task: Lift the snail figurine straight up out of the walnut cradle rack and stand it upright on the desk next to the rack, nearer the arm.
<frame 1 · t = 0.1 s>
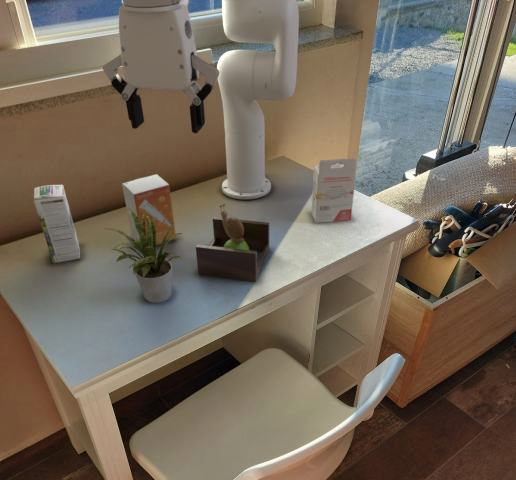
hand: (167, 127, 79), 31 cm above the table, tool pointing down, fingers open, 9 cm apart
ink cartridge box: (330, 217, 121), on the table
rack: (235, 261, 107), on the table
house plant: (152, 293, 100), on the table
syrup box: (67, 255, 110), on the table
small box: (154, 239, 115), on the table
snail figurine: (235, 262, 107), resting in rack
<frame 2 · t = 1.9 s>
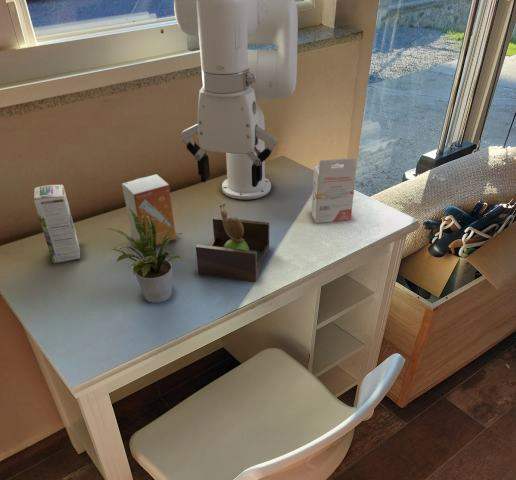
hand: (230, 181, 95), 18 cm above the table, tool pointing down, fingers open, 9 cm apart
nothing on the table moved.
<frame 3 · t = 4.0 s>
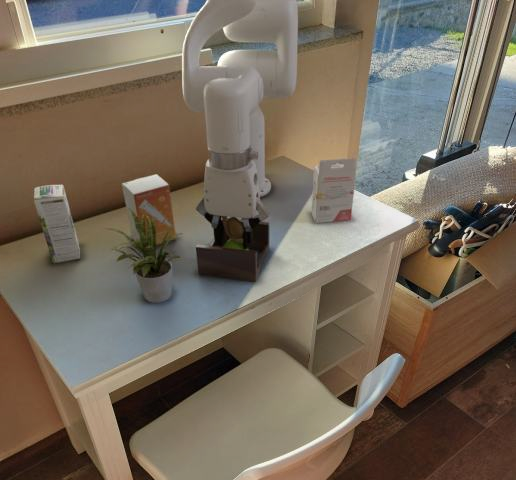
hand: (233, 243, 104), 4 cm above the table, tool pointing down, fingers closed on snail figurine, 4 cm apart
snail figurine: (234, 262, 107), resting in rack, touching gripper
everything else where it was.
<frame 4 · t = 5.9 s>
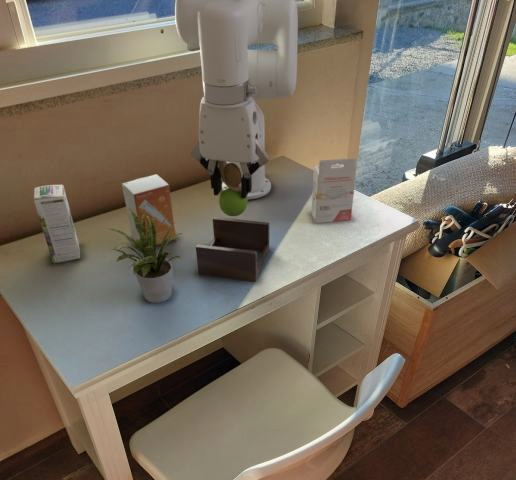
hand: (231, 192, 97), 15 cm above the table, tool pointing down, fingers closed on snail figurine, 4 cm apart
snail figurine: (232, 214, 101), point 11 cm above the table, touching gripper
everything else where it was.
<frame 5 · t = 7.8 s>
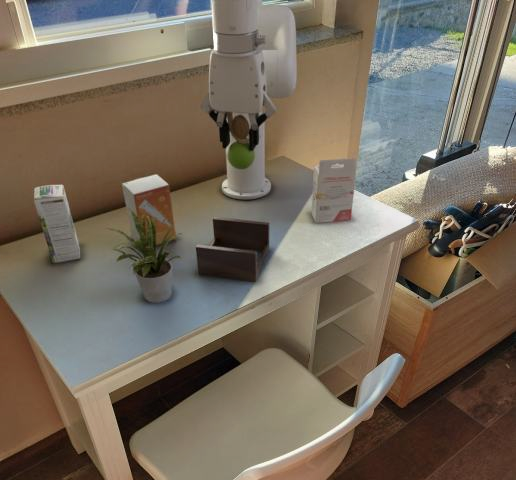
hand: (239, 145, 101), 20 cm above the table, tool pointing down, fingers closed on snail figurine, 4 cm apart
snail figurine: (239, 168, 104), point 16 cm above the table, touching gripper
everything else where it was.
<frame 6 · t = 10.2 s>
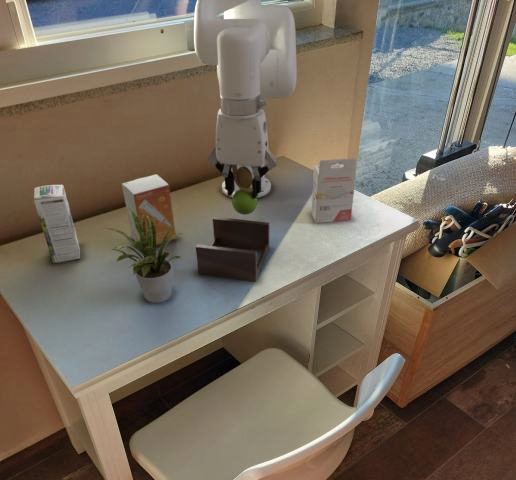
hand: (243, 193, 110), 9 cm above the table, tool pointing down, fingers closed on snail figurine, 4 cm apart
snail figurine: (243, 213, 113), point 5 cm above the table, touching gripper
everything else where it was.
when the fingers open (4 cm above the table, at t = 11.9 s): snail figurine stays where it is, on the table.
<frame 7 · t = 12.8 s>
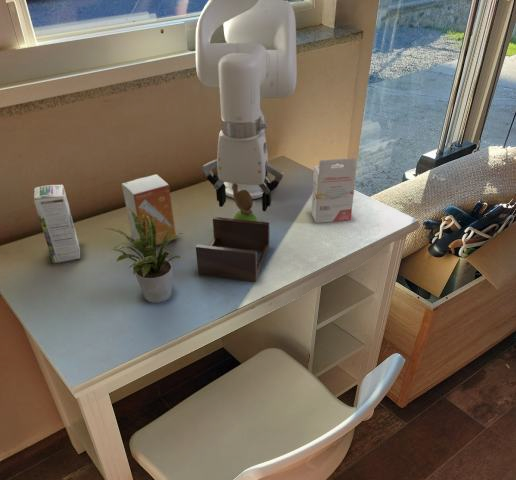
hand: (243, 206, 112), 6 cm above the table, tool pointing down, fingers open, 9 cm apart
snail figurine: (244, 233, 116), on the table
everything else where it was.
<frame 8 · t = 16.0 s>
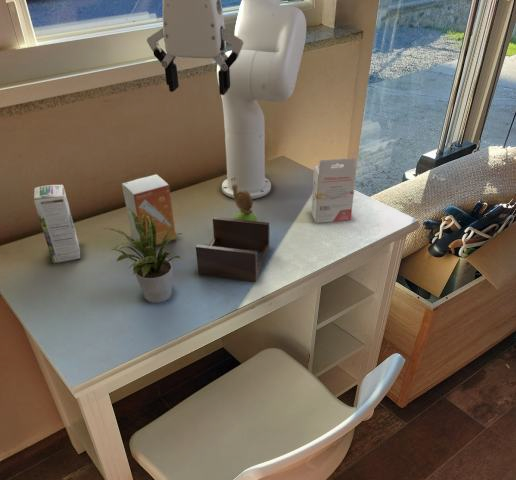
hand: (198, 91, 95), 30 cm above the table, tool pointing down, fingers open, 9 cm apart
nothing on the table moved.
at the end: snail figurine inside the target area (0.2 cm from its centre), on the table; snail figurine tilted 0°; the gripper is holding nothing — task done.
